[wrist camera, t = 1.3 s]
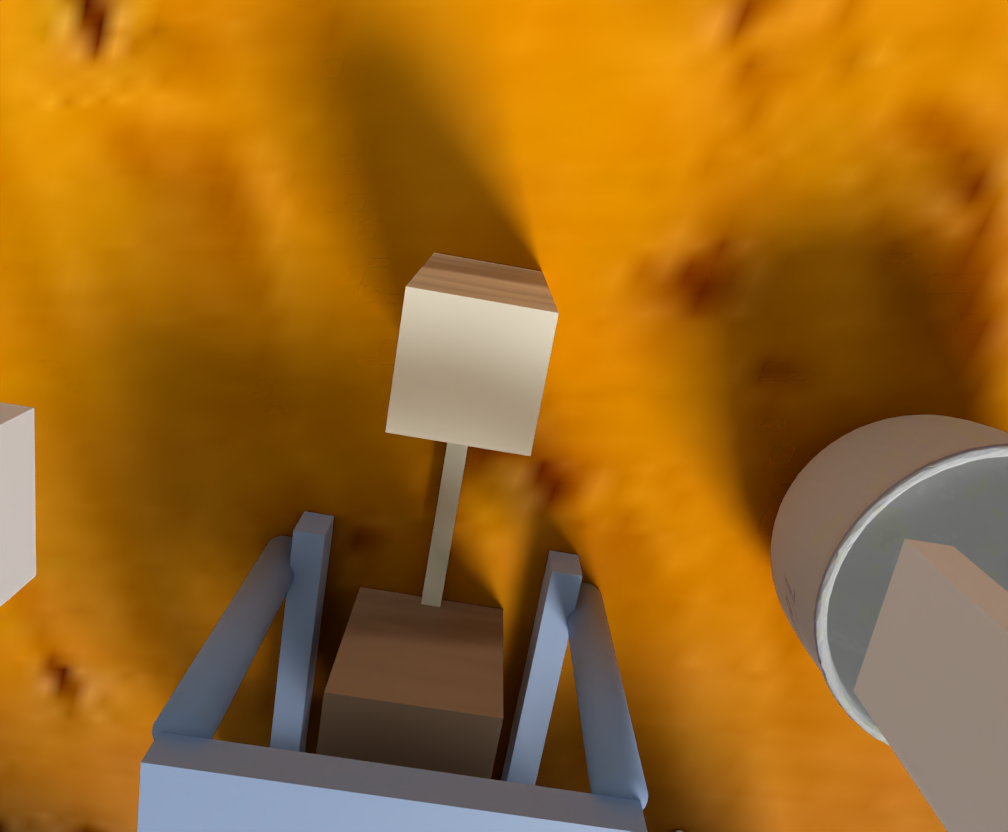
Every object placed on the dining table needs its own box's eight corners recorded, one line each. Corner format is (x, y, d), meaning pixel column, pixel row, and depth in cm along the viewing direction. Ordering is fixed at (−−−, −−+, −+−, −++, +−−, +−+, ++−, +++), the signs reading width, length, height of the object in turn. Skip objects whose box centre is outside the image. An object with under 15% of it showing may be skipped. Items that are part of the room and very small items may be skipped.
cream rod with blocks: (406, 247, 29) (366, 279, 21) (568, 276, 29) (596, 319, 21) (343, 708, 35) (291, 884, 26) (479, 728, 35) (472, 908, 27)
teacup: (690, 548, 33) (748, 663, 25) (866, 329, 30) (990, 383, 22) (945, 707, 35) (1070, 857, 27) (1129, 516, 32) (1323, 623, 25)
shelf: (269, 505, 32) (136, 697, 20) (612, 560, 33) (672, 774, 21) (241, 792, 36) (117, 1088, 24) (546, 834, 37) (566, 1142, 25)
